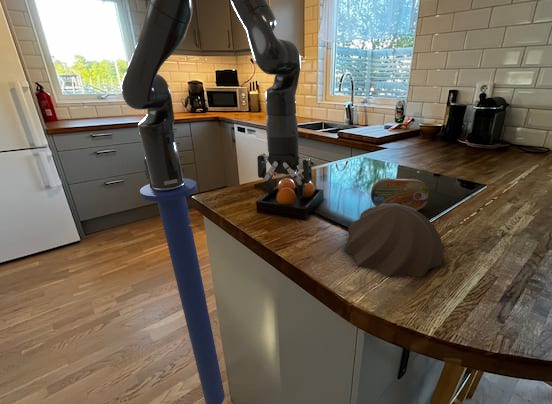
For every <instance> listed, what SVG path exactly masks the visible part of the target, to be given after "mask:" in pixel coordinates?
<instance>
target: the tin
mask: <svg viewBox="0 0 552 404" xmlns="http://www.w3.org/2000/svg"><path fill="white" fill-rule="evenodd" d="M370 199H371V203H372V204H373V206H374V207H376V206H379V205H380V204H384V203H388V204H393V203H397V204H400V205H406V206H410V207H412V208H413V209H415V210H416V211H417V212H418V211H420V210H422V209H424V208H425V207H426V206H427V205H428V203H429V202H430V199H431V191H430V188H429V187H428V185H427V184H425V182H423V181H422V180H420V179H417V178H388V177H387V178H386V177H385V178H381V179H379V180H377V181H376V182H374V184H373V185H372V187H371V190H370Z"/></svg>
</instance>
